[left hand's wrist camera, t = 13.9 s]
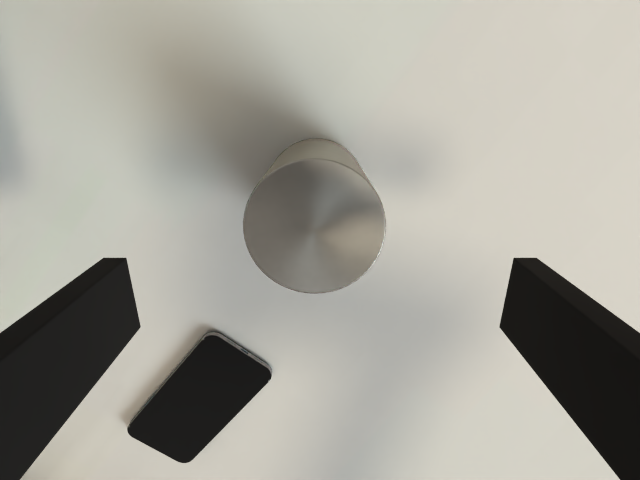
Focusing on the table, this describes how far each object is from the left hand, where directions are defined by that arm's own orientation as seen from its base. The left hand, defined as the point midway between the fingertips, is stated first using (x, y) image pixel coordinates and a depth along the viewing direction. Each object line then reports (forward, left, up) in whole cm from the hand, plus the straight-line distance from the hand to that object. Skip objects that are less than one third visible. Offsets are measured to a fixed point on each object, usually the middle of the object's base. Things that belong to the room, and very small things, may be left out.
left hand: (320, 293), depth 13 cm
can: (0, 0, -16) cm, 16 cm away
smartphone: (-22, -7, -16) cm, 28 cm away
